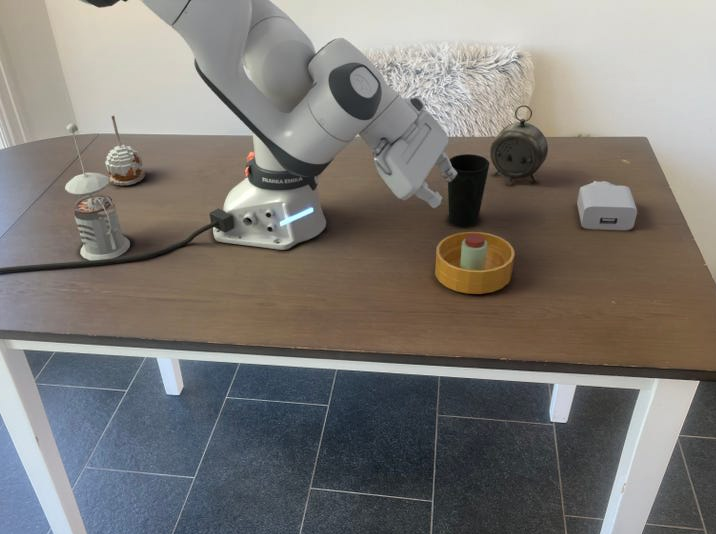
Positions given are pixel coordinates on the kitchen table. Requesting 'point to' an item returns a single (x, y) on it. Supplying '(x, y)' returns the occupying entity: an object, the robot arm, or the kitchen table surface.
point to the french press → (95, 215)
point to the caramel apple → (123, 163)
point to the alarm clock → (519, 150)
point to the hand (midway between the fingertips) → (446, 191)
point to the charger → (606, 206)
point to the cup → (467, 189)
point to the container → (473, 252)
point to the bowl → (474, 280)
